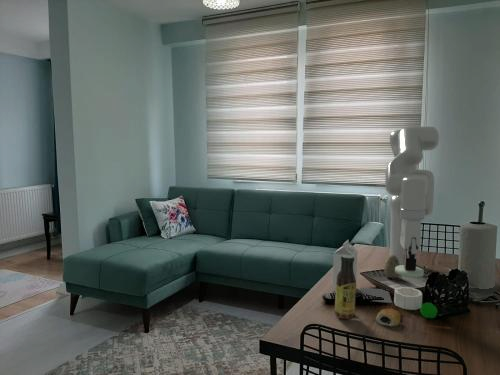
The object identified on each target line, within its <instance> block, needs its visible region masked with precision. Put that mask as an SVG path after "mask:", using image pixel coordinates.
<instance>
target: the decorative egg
mask: <svg viewBox="0 0 500 375" xmlns="http://www.w3.org/2000/svg"><path fill="white" fill-rule="evenodd" d="M387 259H388V260H387V262H386V261H385V265H384V274H385V276H386V278H387V277H389V278H392V279H391V280H393V279H394V280H397V279H398V278H399V277H400V275H398V274H397V273H395V267H396V266H399V265H400V264H399V261H398V259H397V257H396V256H394V255H392V256H390V255H389V257H388V258H387ZM389 278H388V279H389ZM396 278H397V279H396Z"/></svg>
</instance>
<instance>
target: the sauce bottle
mask: <svg viewBox="0 0 500 375" xmlns="http://www.w3.org/2000/svg"><path fill="white" fill-rule="evenodd" d="M341 261H342V262H341V270H340V272H339V273H338V275H337V283H336V292H335V298H334V299H335V300H334V314H335V316H336V318H339V319H342V320H350V319H352V318H353V317H354V316H355V308H356V297H357V296H356V293H357V292H356V290H357V281H356V280H355V276H354V272H353V262H354V256H352V255H342V256H341Z"/></svg>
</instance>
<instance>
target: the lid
mask: <svg viewBox="0 0 500 375" xmlns="http://www.w3.org/2000/svg"><path fill="white" fill-rule="evenodd" d="M410 252H411V251H409V253H410ZM406 258H407V251H405V256H404V265H399V266H396V267H395V273H397V274H398V275H399V276H402V277H406V278H422V277H423V276H424V275H425V274H424V272H425V270H424V269H423V268H421V267H419V266H416V270H406V269H405V265H406Z"/></svg>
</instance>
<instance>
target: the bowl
mask: <svg viewBox="0 0 500 375" xmlns="http://www.w3.org/2000/svg"><path fill="white" fill-rule="evenodd" d="M393 302H394V306H396V307H398V308H401V309H404V310H409V311H416V310H418V309H419V310H420V308H421V306H422V304H423V293H422V291H421V290H419V289H417V288H414V287H411V286H410V287H408V286H407V287H406V286H399V287H396V288H394V296H393Z"/></svg>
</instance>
